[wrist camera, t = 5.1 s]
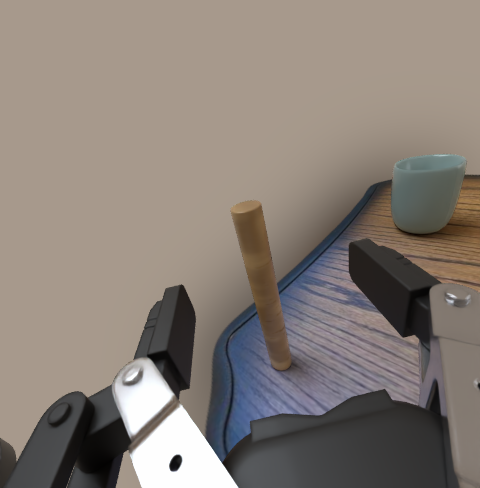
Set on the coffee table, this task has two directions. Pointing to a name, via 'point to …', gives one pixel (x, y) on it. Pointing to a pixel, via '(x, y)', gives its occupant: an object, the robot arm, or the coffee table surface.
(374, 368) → the coffee table surface
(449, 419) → the robot arm
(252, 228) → the stick
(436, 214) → the cup
